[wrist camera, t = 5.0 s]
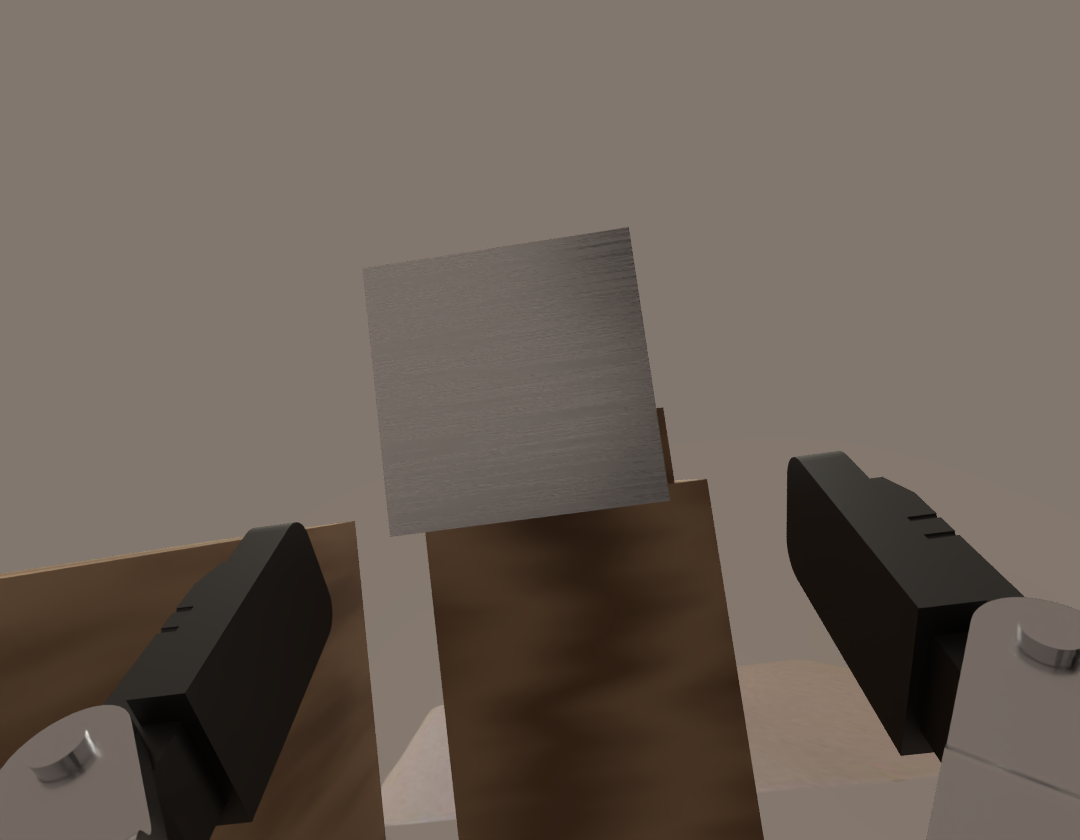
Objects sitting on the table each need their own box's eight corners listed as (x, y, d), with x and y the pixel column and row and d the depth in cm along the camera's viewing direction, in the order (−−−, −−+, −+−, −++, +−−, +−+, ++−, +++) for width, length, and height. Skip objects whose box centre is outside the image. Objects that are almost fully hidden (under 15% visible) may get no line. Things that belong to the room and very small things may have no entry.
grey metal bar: (538, 496, 33) (525, 398, 34) (607, 487, 33) (593, 388, 33) (390, 537, 8) (351, 156, 9) (670, 500, 8) (611, 113, 9)
